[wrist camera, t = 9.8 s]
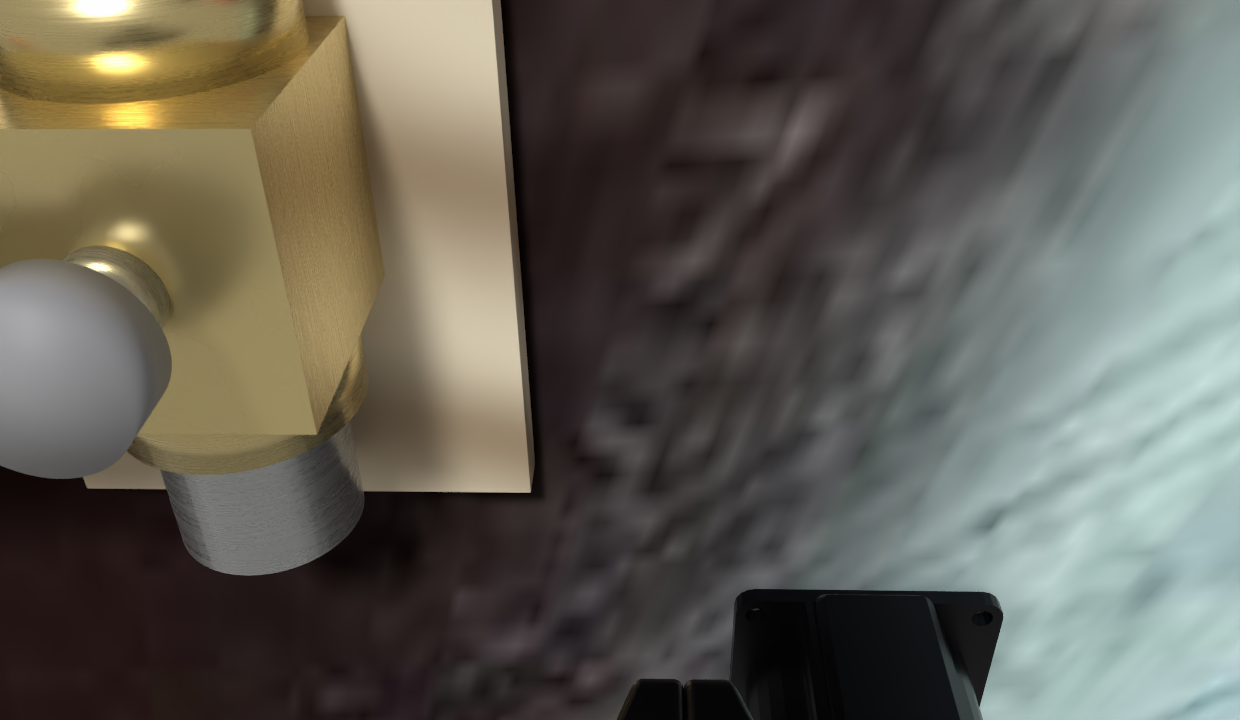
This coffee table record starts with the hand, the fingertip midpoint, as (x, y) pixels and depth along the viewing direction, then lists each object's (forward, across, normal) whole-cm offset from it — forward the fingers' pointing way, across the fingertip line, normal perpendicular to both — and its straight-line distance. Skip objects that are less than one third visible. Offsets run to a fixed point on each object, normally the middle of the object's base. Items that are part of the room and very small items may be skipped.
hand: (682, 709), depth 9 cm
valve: (+13, +8, 0) cm, 15 cm away
